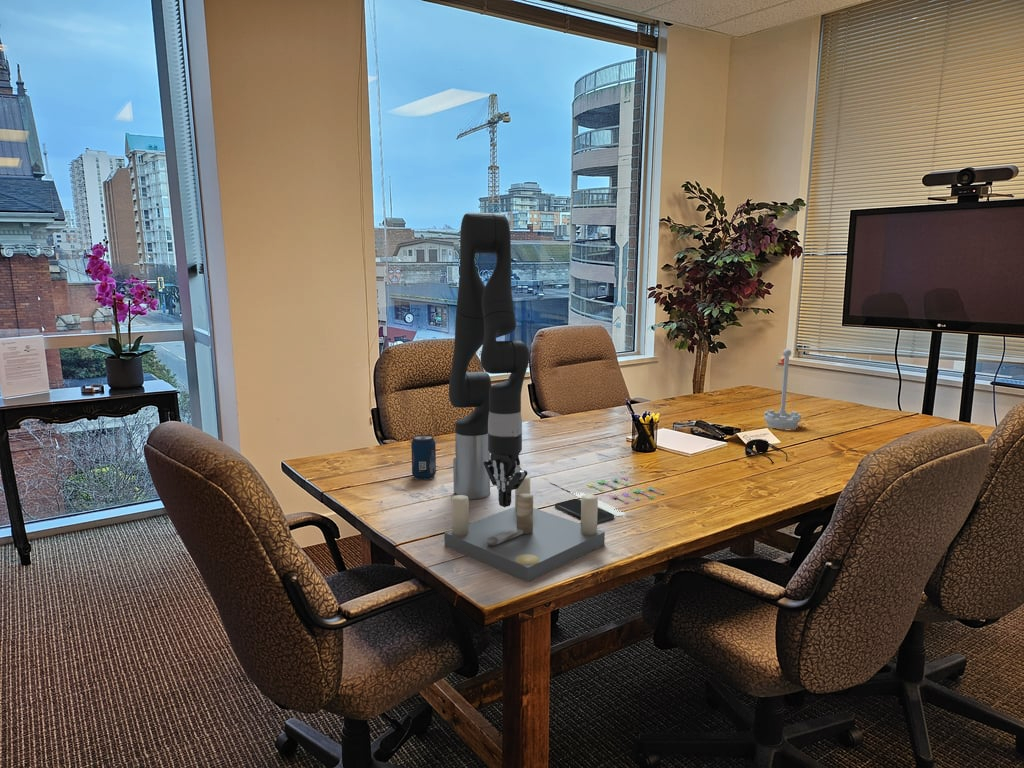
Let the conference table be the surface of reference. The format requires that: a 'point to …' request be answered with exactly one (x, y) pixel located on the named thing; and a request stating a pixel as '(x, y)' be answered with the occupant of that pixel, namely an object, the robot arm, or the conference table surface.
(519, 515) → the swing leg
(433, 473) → the soda can
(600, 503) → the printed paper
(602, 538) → the grey square base plate
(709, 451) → the conference table surface
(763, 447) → the sunglasses
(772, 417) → the flag stand
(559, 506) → the phone
